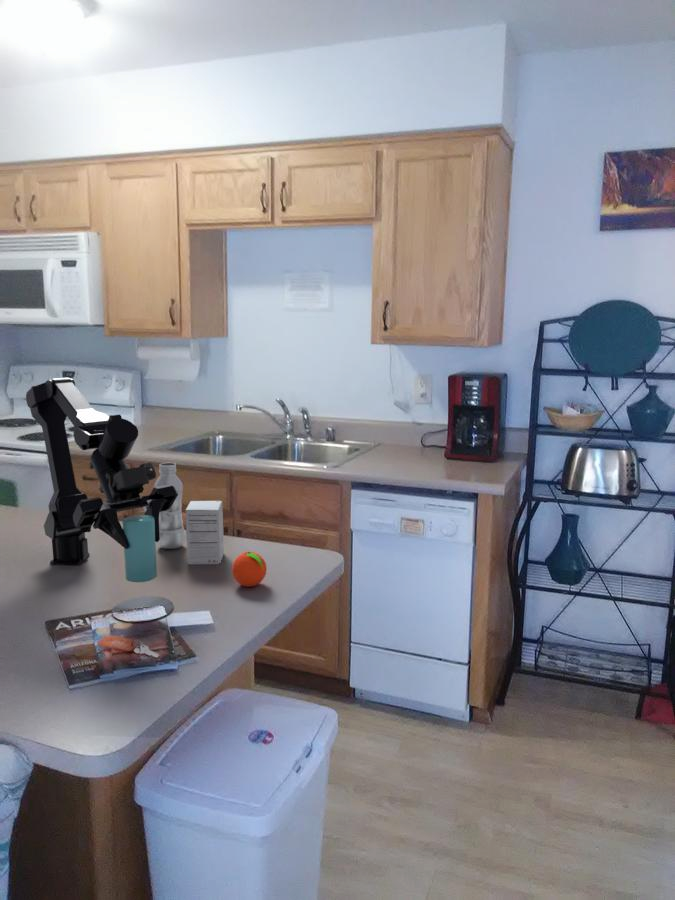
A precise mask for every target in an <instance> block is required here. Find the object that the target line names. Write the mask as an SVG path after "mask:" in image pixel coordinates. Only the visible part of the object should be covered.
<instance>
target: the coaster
mask: <svg viewBox="0 0 675 900" xmlns="http://www.w3.org/2000/svg"><path fill="white" fill-rule="evenodd" d="M159 605H160V606H163V607H164V608H165V611H166V613H167V614H168V615H169V614H170V613H172V611H173V610H174V603H173V602H172V601H171V600H170V599H169V598H166V597H162V596H155V595H147V596H146V595H144V596H138V597H137V596H136V597H133V598H132V597H131V598H128V599H126V600H125V599H124V600H122V601H121V602H118V603H117V604H116V605H115V606H113V608H112V610H111V613H112V612H115V611H116V612H117V611H120V610H128V609H135V608H136V609H137V608H143V607H151V606H159Z"/></svg>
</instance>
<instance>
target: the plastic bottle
mask: <svg viewBox="0 0 675 900" xmlns="http://www.w3.org/2000/svg"><path fill="white" fill-rule="evenodd" d="M158 466H159V468H158V469H159V470H158V472H159V474H160V475H159V476H158V477H157V478H156V481H155V483H154V485H153V488H154V487H158V486H164V485H172V486H174V487H175V489H176V491H177V493H178V496H177V498H176V499H175V501H174V503H173V504H172V506H171V508H170V509H168V510H167V511H162V512H159V533H160V540H159V541H158V542H157V545H158V546H159V548H162V549H166V550H172V549H179V548H181V547H183V546H184V544H185V543H186V539H187V535H186V531H185V528H184V522H183V516H182V512H183V511H182V507H183V506H182V502H183V490H184V486H183V483H182V481H181V479H180V478H179V476H177V474H176V473H177V465H176V463H174V462H163V463H159V465H158Z"/></svg>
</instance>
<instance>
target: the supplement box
mask: <svg viewBox="0 0 675 900" xmlns="http://www.w3.org/2000/svg"><path fill="white" fill-rule="evenodd" d="M223 513H224V511H223V501H222V500H190V502H189V503H188V505H187V507H186V508H185V527H186V531H185V535H186V550H187V552H186V553H187V554H186V555H187V564H188V565H220V564H221V562H222V561H221V560H223V557H224V553H225V543H224V516H223ZM219 563H220V564H219Z"/></svg>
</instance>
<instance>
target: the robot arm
mask: <svg viewBox="0 0 675 900" xmlns="http://www.w3.org/2000/svg"><path fill="white" fill-rule="evenodd" d="M25 400H26V405H27V407H28V408H29V411H30V414H31V417H32V418H33V419H34V420H35V421H36V422H37V423H38V424H39V425H40V427H41V428H42V429H41V430H42V433H43V441H44V444H45V451H46V455H47V461H48V462H47V463H48V466H49V471H50V472H49V473H50V478H51V483H52V488H53V493H52V496H51V499H50V501H49V503H48V514H47V515H46V516H47V517H46V518H45V521H44V523H43V529H44V533H45V536H47V537H48V538H50V539H51V546H52V560H50V561H49V564H50V565H68V566H71V565H74V566H75V565H77V566H78V565H80V564H81V563H82V562H84V560H86V559H87V558H88V557H89V556H90V552H89V546H88V544H89V543H88V538H86V534H85V533H91V531H92V527H93V529H94V530H96V529H99V530H101V532H104V533H105V534H106V535H108V536H110V538H111V539H113V540H114V541H115V542H116V543H118V544H119V545H120V546H121V547H123V549H124V548H125V549H128V548H129V543H128V540H127V537H126V535H125V533H124V531H123V526H122V524H121V522H120V520H119V517H118V513H119V512H122V511H129V510H133V509H138V508H142V509H143V510H144V512H145V513H144V514H143V515H149V516H153V517H154V520H155V542H156V543H158V541H159V540H160V533H159V512H162V511H167V510H168V509H170V508H171V506H172V504H173V503H174V501H175V499H176V498H177V496H178V493H177V491H176V489H175V487H174V486H172V485H164V486H158V487H154V486H153V488H152V490H151V492H150V494H149V495H148V494H147V495H143V496H142V495H140V494H142V493H143V492H144V490H145V489H144V486H145V485H148V484H150V481H152V480H154V479H156V476H157V474H156V473H157V472H156V469H155V467H154V465H153V463H152V462H151V461H150V462H149V461H148V462H143V463H142V464H140V465H139V466H137V467H131V468H128V466H127V463H126V461H125V459H126V458H128V457H129V455H130V453H131V451H132V449H133V446H134V444H135V443H136V441H137V438H138V437H139V429H138V427H137V426H136V425H135V424H134V423H133V422H131V421H130V420H128V419H125V418H122V416H121V414H118V413H117V414H110V415H109V416H108V415H107V414H106V413H104V412H100V411H97V410H95V409H94V408H93V406H91V403H89V402H88V400H87V399H86V398H85V397H84V396H83V394H82V393H81V392H80V390H79V389H78V387H76V383H75V379H73V378H70V377H56V378H50V379H47V380H46V381H45V382H42V383H41V384H37V385H31V387H30V388H29V389H28V391H26V393H25ZM67 418H68V420H69V421H70V422H71V424H72V425H73V427H74V428H73V436H72V437H73V439H74V443H75V445H76V446H78V447H79V448H80V449H81V450H82V451H90V450H93V451H92V453H91V455H90V458H89V460H90V462H89V469H90V470H94V472H95V474H96V476H97V479H98V481H99V485H100V487H99V488H98V489H99V492H100V493H101V494H104V497H105V499H106V501H103V499H102V498H101V497H99V496H97V497H91V498H88V496H87V495H86V493H85V492H81V490H80V489H79V488H78V487H77V482H76V477H75V471H74V466H73V461H72V456H71V450H70V445H69V440H68V435H67V434H68V433H67V428H66V419H67Z"/></svg>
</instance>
